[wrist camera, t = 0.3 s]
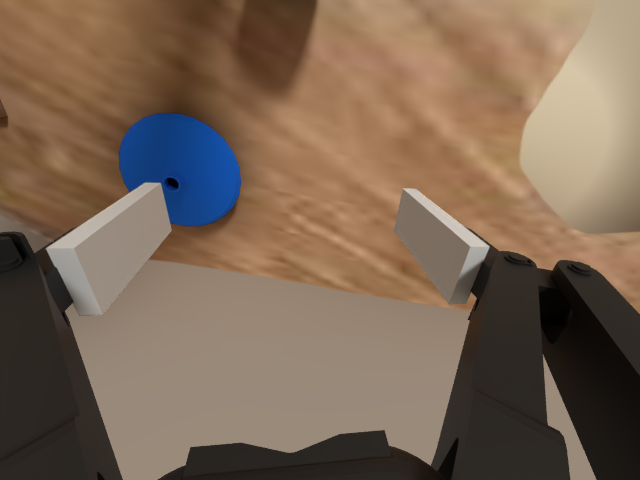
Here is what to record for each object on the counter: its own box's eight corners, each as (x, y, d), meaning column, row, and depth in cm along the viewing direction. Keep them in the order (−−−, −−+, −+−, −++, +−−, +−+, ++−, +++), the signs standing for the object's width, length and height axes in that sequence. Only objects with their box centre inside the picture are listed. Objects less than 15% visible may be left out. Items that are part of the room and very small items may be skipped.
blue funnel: (265, 179, 42) (261, 194, 36) (193, 236, 45) (179, 258, 39) (183, 84, 35) (161, 82, 29) (105, 159, 38) (70, 173, 32)
